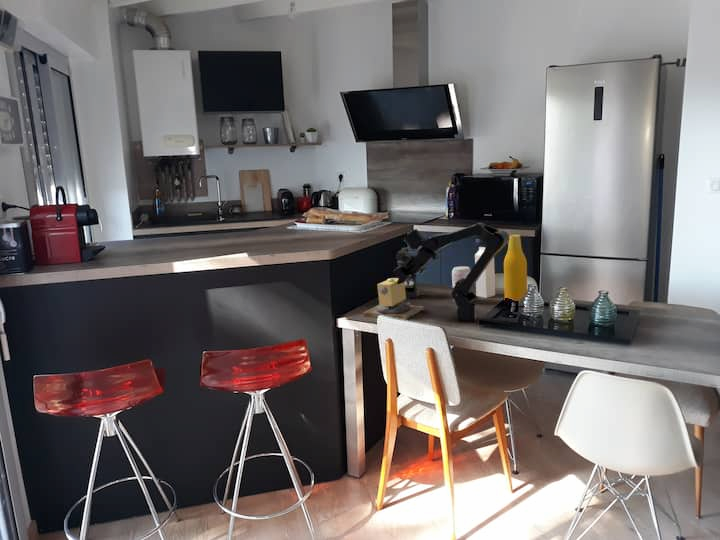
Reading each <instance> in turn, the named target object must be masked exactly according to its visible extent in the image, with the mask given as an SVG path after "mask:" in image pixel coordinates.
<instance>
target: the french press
mask: <svg viewBox="0 0 720 540" xmlns="http://www.w3.org/2000/svg"><path fill="white" fill-rule="evenodd" d="M401 250H406V251H407V252H408V250H412V249H411V248H410V247H401ZM396 263H397V265H398V266H397V267H399V266H403V267H405V265H404V262H402V261H400V260H399V259H398V260H397V261H396ZM395 275H396V274H395ZM417 275H418V273H417V274H416V277H414V278H412V280H408V281H405V282H404V283H405V293H406V299H405V300H408V299H407V298H414V299H417V298H419V297H420V295H419V288H417V287H418V285H417V283H418V282H417ZM395 278H398V277H397V275H396V276H395ZM418 296H419V297H418ZM416 297H417V298H416Z"/></svg>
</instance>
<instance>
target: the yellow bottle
mask: <svg viewBox="0 0 720 540" xmlns="http://www.w3.org/2000/svg"><path fill="white" fill-rule="evenodd" d="M509 238H510V239H509V242H508V244H507V245H508V247H507V252H506V255H504V256H505V257H504V260H503V281H504V282H503V283H504V284H503V285H504V288H503V289H504V299H505V298H509V299H512V300H514V301H520V299H522V298H523V297H524V296H525V294H526V292H527V293H528V263H527V258H526V256H525V253H524V251H523V248H522V240H521V235H520V234H511V235H509Z"/></svg>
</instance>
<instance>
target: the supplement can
mask: <svg viewBox="0 0 720 540" xmlns="http://www.w3.org/2000/svg"><path fill="white" fill-rule="evenodd" d="M471 270H472V269H471V268H470V266H465V265H464V266H463V265H462V266H454V267H453V268H452V270H451V280H452V281H451V282H452V288H454V287H455V285H456V283H457V281H459V280H460V279H462V278H464V279H465V278H466V277H467V275H468V274H469V272H470V271H471ZM452 301H453V302H455V300H454V299H453V298H452Z"/></svg>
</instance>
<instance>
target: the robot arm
mask: <svg viewBox="0 0 720 540" xmlns="http://www.w3.org/2000/svg"><path fill="white" fill-rule="evenodd" d="M473 236H478V237H480V238H481V239H482V240H483V241H485V242H486V243H485V246H484V247H485V250H484V252H483V253H482V255H481V256H480V258H479V259H478V261H477V262H476V264H475V263H474V265H473V267H472V268H471V269H470V270H471V271H470V272H469V274H468V275H467V277H466V278H465V279H464V278H462V279H460V280H459V281H457V283H456V285H455V287H454V288H453V287H452V288H451V290H452V292H451V296H452V300H453V299H454V300H455V301H454V303H455V302H456V303H455V304H456V307H457V308H456V314H457V322H461V323H462V322H463V323H475V322H476V320H477V319H478V316H477V304H476V303H477V302H478V300H479V296H476V293H474V290H475V288H476V281H477V280H478V279H479V277H480V276H481V274H482V273H483V271H484V270H485V269H486V267H487V266H488V264H489V263H490V261H491V260H492V259H493V257H494V258H495V256H496V255H497V254H498V253H499V252H501V251H502V250H503V248H504V247H506V245H508V244H509V239H510V238H509V236H510V235H509V233H508V232H506V231H505V230H501V229H498V228H495V227H493V226H489V225H487V224H486V223H484V222H477V223H475V224H473V225H470V226H468V227H464V228H462V229H459V230H456V231H453V232H443V233H438V234H435V235H432V236H430V237H429V236H428V237H426V238H425V237H424V236H423V235H422V233H420V232H419V230H418V229H417V228H414V229H413V230H412V231H411V232H410V233H408V234H407V235H405V237H403V241H404V242H405V243H406V244H407V246H408V248H411V249H410V250H412V251H416V253H415V254H412V253H410V252H409V251H408V250H407V251H406V250H402V249H400V250H398V252H397V253H396V254H395V257H396V260H398V261H399V260H400V261H402V262H404V265H405V267H403V266H399V267H398V266H396V267H395V268H394V269H393V273H394V274H395V275H397V277H398V278H399V279H398V281H397V283H398V284H400V283H403V282H406V281H411V280H413V278H414V277H416V278H417V275H418V274H420V275H423V274H424V273H425V272H426V271H427V267H426V266H427V265H428V264H427V263H429V262H430V260H431V259H433V261H435V260H438V259H439V258H440V257H439V252H438V251H439V250H441V249H443V248H445V247H447V246H449V245H450V244H452V243H454V242H457V241H460V240H463V239H467V238H470V237H473ZM416 274H417V275H416Z"/></svg>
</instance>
